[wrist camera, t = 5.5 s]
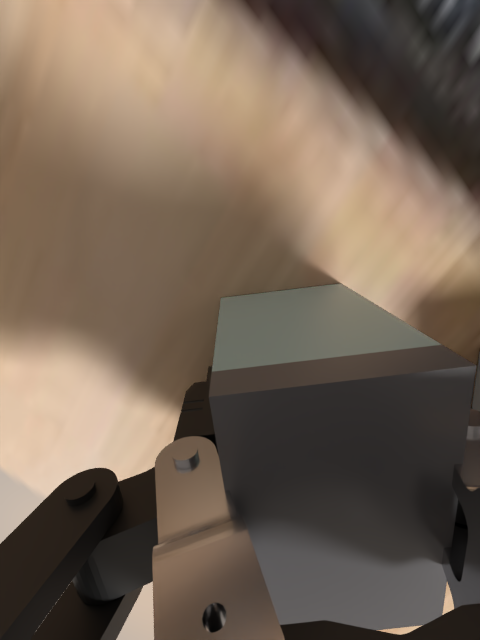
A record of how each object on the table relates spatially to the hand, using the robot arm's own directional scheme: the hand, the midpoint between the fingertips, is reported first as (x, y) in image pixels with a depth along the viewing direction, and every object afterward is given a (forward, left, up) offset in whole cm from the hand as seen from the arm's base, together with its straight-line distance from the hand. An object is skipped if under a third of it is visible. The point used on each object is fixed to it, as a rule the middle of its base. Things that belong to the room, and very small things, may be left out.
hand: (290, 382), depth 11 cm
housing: (0, 0, -1) cm, 1 cm away
